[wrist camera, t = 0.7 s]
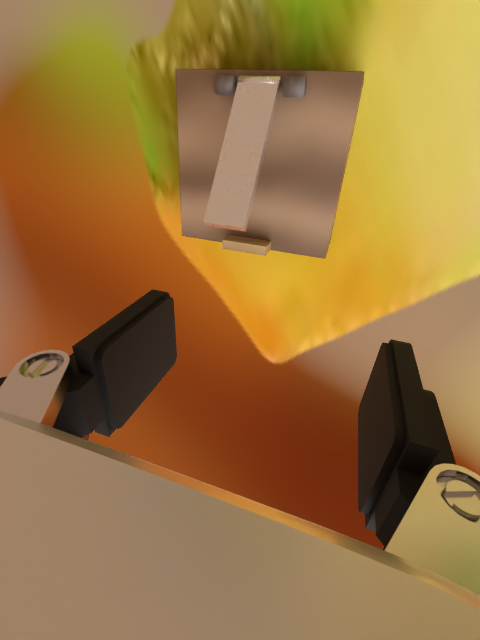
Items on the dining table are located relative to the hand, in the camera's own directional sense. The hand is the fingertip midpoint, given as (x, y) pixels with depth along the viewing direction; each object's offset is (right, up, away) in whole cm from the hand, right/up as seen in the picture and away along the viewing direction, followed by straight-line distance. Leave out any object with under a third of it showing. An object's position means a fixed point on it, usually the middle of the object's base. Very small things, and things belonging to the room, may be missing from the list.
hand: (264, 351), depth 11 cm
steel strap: (-1, +13, +11) cm, 17 cm away
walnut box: (+2, +16, +19) cm, 25 cm away
